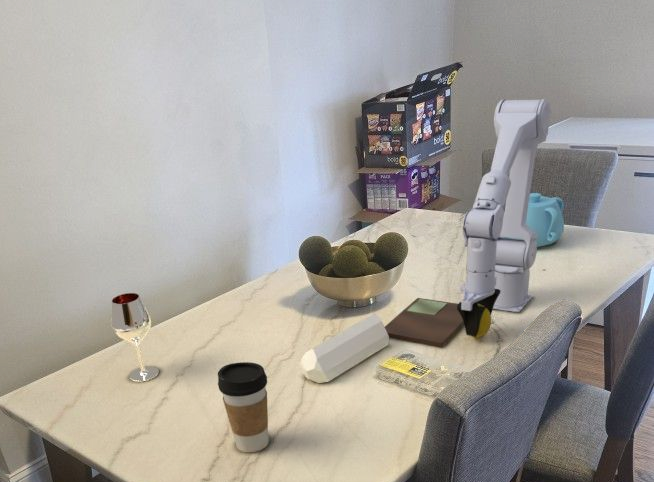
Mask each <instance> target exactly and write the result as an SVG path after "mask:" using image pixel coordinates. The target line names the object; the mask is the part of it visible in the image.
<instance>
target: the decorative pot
mask: <svg viewBox="0 0 654 482" xmlns="http://www.w3.org/2000/svg"><path fill="white" fill-rule="evenodd" d="M564 204H565V203H564V201H563V199H561V197H557V196H553V197H548V196H544V195H542V193H539V192H532V193H531V192H530V197H529V204H528V211H527V218H526V224H527V225H528V226H529V227H530V228H531V229H532V230H533V231H534V232H535V233H536V234H537V244H536V245H537V248H538V247H543V246H551V245H553V244H554V243H555V242H557V241H559V239H560V238H561V237H562V236H563V234H564V231H565V223H564V222H565V221H564V216H563V210H564V206H565V205H564ZM503 221H504V217H503ZM501 238H507V237H501ZM508 239H519V238H508ZM519 240H523V239H519Z"/></svg>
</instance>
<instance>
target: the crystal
mask: <svg viewBox="0 0 654 482" xmlns="http://www.w3.org/2000/svg"><path fill="white" fill-rule="evenodd" d="M389 345H390V338H389V336H388V334H387V331H386V329H385V325H384V323H383V321H382V319H381V317H380V316H379V315H377V314H376V313H372V314H371V315H369V316H367V317H365V318H363V319H361V320H360V321H358V322H356V323H355V324H353V325H351V326H349V327H348V328H345V329H344V330H342V331H340V332H339V333H337V334H335V335H333V336H331V337H330V338H328V339H327V340H324V341H323V342H321V343H319V344H317V345H316V346H314V347H312V348H311V349H310V350H308V351H307V352H305V353H304V354H303V357H302V359H301V361H300V362H299V365H300V369H301V372H302V373H303V375H304V376H305V378H306V379H308V380H309V381H312V382H315V383H317V384H322V383H328V382H331V381H332V380H333V379H335V378H337V377H339V376H340V375H342V374H343V373H345V372H346V371H348V370H350V369H352V368H353V367H355V366H356V365H358V364H359V363H361V362H362V361H364V360H366V359H367V358H369V357H370V356H371V357H372V355H374V354H375V353H377V352H380V350H382V349H384V348H385V347H387V346H389Z"/></svg>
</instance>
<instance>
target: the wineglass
mask: <svg viewBox="0 0 654 482" xmlns="http://www.w3.org/2000/svg"><path fill="white" fill-rule="evenodd" d="M110 310H111V315H110V317H111V319H110V320H111V328H112V331H113V332H114V334H115V335H116V336H118V338H120V339H121V340H124V341H125V342H128V343H130V344H132V345H133V346H134V347H135V350H136V354H137V358H138V363H139V366H140V367H139V368H136V369H135V370H133V371H131V372H130V374H129V379H130V380H131V381H133V382H137V383H138V382H141V383H142V382H147V381H151V380H153V379H155V378H156V377H157V376H158V375H159V372H160V371H159V369H158V368H157V367H154V366H145V363H144V360H143V355H142V351H141V347H140V346H141V345H140V344H141V342H142V341H143V339H145V337H146V336H147V335H148V334H149V332H150V330H151V327H152V318H151V315H150V313H149V311H148V309H147V307H146V305H145V303H144V302H143V299H142V298H141V295H140V294H139V293H136V292H127V293H122V294H119V295H116V296H115V297H113V298H112V299H111V309H110Z"/></svg>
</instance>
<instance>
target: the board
mask: <svg viewBox="0 0 654 482" xmlns="http://www.w3.org/2000/svg"><path fill="white" fill-rule="evenodd" d="M458 304H459V303H456V302H450V301H443V300H435V299H430V298H429V299H428V298H422V297H417V298H416V299H415V300H413V301H412V302H411V303H410V304H409V305H408V306H406V307H405V308H404V309H403V310H402V311H401V312H399V314H397V315H396V316H394V318H393V319H392V320H391V321H389V322H388V323H387V324H386V325H384V327H385V329H386V331H387V334H388V336H389V339H393V340H399V341H404V342H410V343H415V344H420V345H426V346H432V347H437V348H444V347H445V346H446V344H447V343H448V342H449V341H450V340H451V339H452V338H453V337H454V336H455V335H456V334H457V333H458V332H459V331H461V329H462V327H464V322H463V319H462V317H461V315H460V313H459V311H458V310H457V305H458Z"/></svg>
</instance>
